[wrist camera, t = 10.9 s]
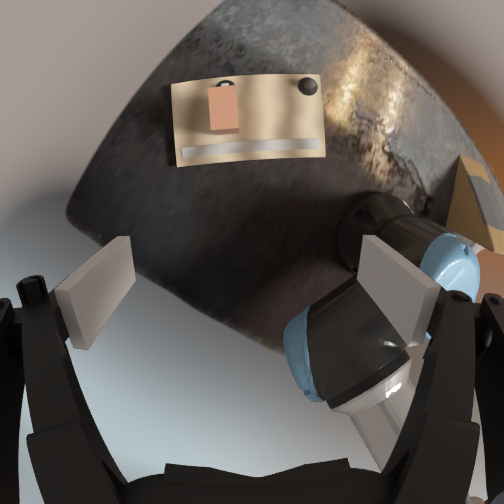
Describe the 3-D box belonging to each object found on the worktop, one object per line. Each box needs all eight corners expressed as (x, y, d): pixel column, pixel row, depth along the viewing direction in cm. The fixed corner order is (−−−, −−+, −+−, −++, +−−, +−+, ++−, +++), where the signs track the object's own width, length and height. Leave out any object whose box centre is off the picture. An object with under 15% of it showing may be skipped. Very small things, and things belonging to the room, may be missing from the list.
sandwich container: (483, 164, 42) (534, 176, 28) (469, 233, 47) (516, 258, 33) (458, 152, 41) (513, 161, 27) (444, 226, 46) (494, 253, 32)
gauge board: (316, 77, 37) (323, 71, 33) (322, 156, 42) (330, 157, 37) (173, 87, 37) (166, 80, 33) (180, 166, 41) (173, 168, 37)
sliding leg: (235, 84, 35) (233, 65, 26) (239, 133, 38) (238, 127, 28) (214, 86, 35) (206, 67, 26) (218, 135, 38) (210, 130, 28)
